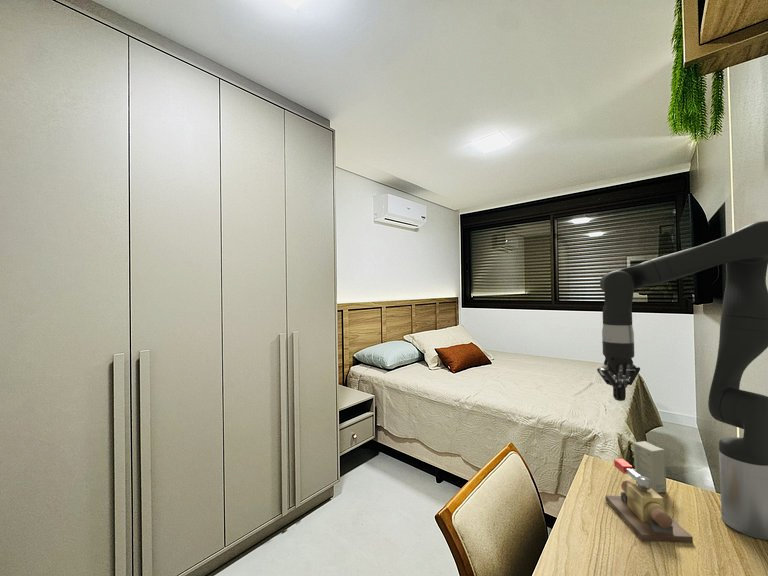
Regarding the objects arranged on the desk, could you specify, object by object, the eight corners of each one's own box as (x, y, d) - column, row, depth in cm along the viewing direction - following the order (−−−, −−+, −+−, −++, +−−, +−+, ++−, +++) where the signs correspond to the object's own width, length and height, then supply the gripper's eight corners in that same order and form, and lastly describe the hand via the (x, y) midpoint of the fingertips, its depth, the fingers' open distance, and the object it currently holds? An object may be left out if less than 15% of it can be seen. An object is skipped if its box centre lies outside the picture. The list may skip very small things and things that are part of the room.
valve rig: (605, 500, 93) (604, 471, 93) (647, 502, 92) (646, 472, 92) (642, 541, 78) (640, 505, 78) (692, 543, 77) (691, 507, 77)
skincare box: (667, 492, 96) (665, 449, 96) (654, 494, 95) (652, 451, 95) (646, 480, 102) (645, 440, 102) (634, 481, 102) (632, 441, 102)
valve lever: (653, 489, 84) (652, 481, 84) (642, 489, 84) (642, 481, 84) (623, 466, 95) (623, 458, 95) (614, 465, 95) (613, 458, 95)
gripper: (609, 343, 91) (611, 406, 91) (649, 340, 94) (651, 402, 94) (587, 339, 99) (589, 398, 98) (625, 337, 101) (626, 394, 101)
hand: (619, 399), depth 96 cm, fingers closed
